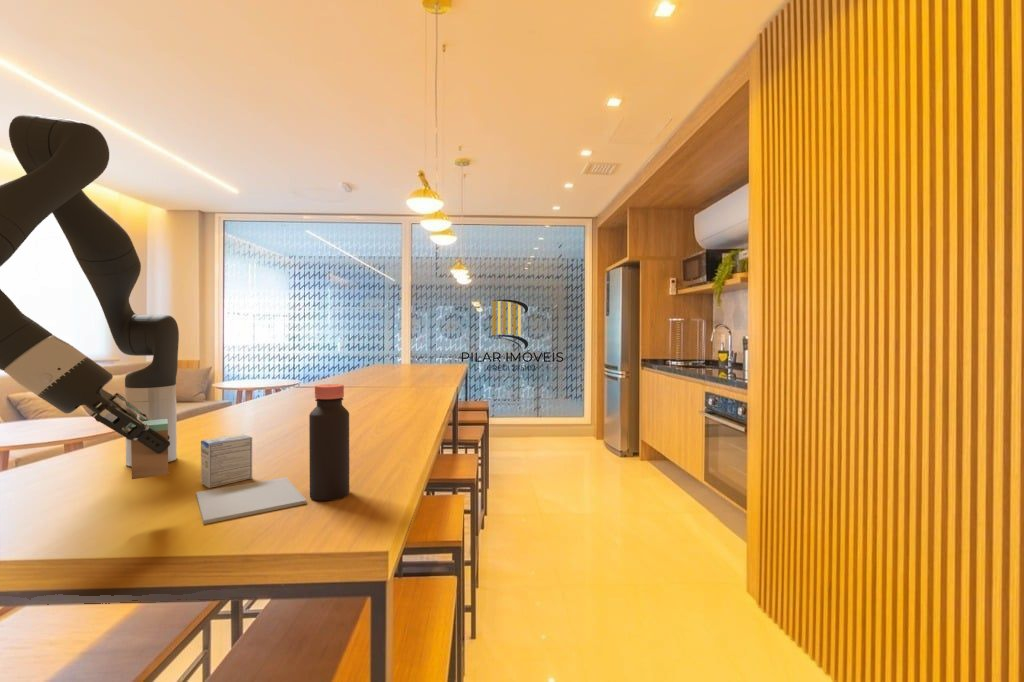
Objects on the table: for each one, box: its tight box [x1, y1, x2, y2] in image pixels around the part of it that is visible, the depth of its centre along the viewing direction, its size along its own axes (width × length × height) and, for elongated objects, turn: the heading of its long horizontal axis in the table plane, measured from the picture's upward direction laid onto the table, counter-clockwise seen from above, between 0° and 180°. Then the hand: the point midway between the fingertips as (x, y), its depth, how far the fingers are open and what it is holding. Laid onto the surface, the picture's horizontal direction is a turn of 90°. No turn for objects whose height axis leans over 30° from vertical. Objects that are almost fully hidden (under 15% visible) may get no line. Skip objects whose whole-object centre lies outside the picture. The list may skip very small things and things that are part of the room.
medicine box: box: [200, 433, 253, 489], centre depth 95 cm, size 8×4×9 cm, turn 141°
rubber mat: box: [195, 476, 307, 525], centre depth 85 cm, size 16×15×1 cm
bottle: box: [308, 383, 350, 502], centre depth 87 cm, size 7×7×20 cm
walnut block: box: [131, 419, 169, 480], centre depth 75 cm, size 4×4×8 cm
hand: (164, 445), depth 77 cm, fingers closed on walnut block, 4 cm apart
